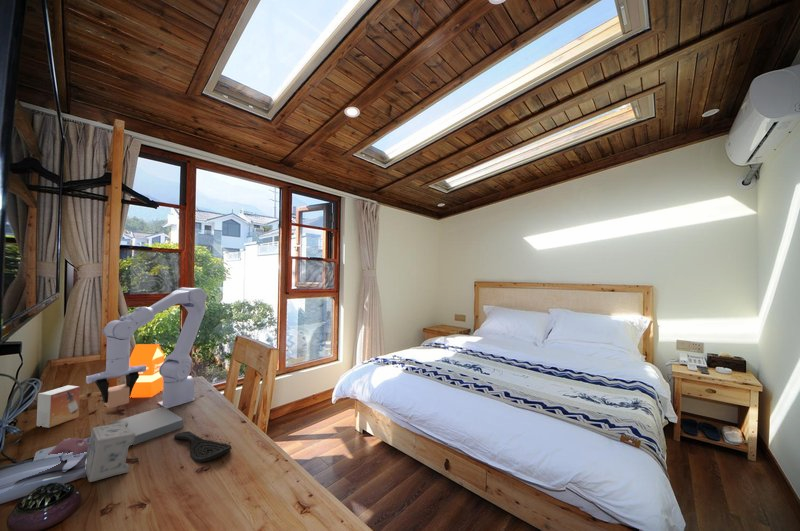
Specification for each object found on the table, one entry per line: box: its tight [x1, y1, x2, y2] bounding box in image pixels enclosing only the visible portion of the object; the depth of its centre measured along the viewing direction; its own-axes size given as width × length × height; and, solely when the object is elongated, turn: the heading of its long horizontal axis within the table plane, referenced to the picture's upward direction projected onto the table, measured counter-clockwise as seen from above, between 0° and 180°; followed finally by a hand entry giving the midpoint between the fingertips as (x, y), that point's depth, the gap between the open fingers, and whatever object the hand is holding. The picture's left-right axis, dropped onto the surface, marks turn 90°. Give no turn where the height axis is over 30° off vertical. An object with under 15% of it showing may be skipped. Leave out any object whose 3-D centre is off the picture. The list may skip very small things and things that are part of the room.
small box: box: [36, 384, 81, 429], centre depth 103 cm, size 8×6×10 cm
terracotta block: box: [103, 383, 130, 409], centre depth 101 cm, size 5×5×5 cm
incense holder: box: [85, 422, 135, 483], centre depth 79 cm, size 10×8×10 cm
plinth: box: [109, 406, 184, 446], centre depth 99 cm, size 14×16×2 cm
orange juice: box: [129, 343, 165, 399], centre depth 126 cm, size 8×9×20 cm
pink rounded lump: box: [47, 437, 89, 455], centre depth 81 cm, size 10×5×7 cm, turn 72°
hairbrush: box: [173, 430, 232, 464], centre depth 90 cm, size 8×4×25 cm
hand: (117, 399), depth 101 cm, fingers closed on terracotta block, 5 cm apart
